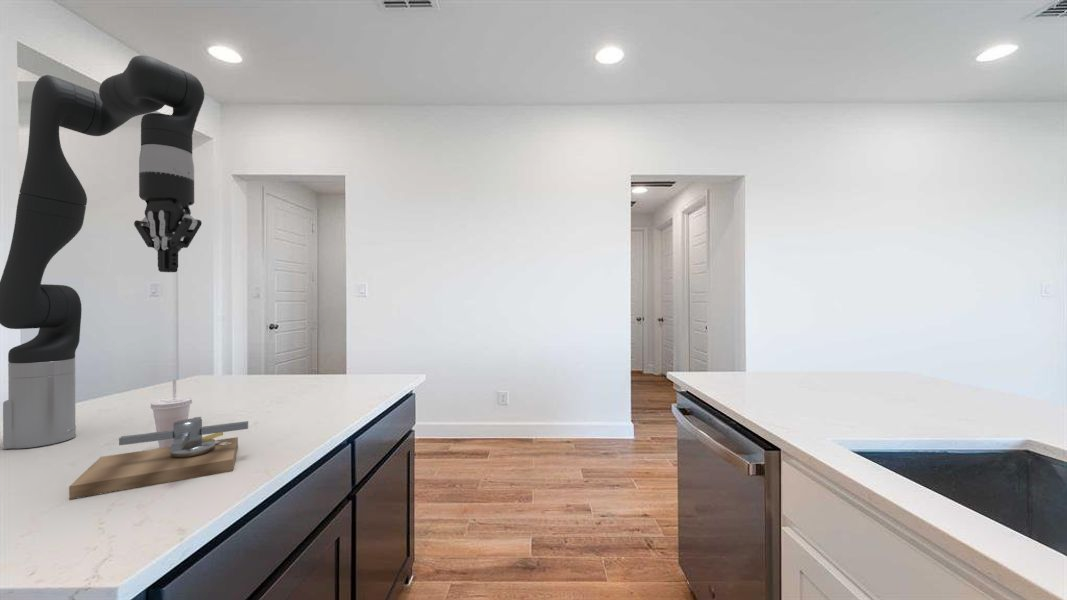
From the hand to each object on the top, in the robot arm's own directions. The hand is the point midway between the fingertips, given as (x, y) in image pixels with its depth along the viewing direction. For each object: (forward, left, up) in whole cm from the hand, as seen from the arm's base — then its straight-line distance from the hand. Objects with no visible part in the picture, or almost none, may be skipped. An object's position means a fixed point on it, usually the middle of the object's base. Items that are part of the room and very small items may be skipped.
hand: (167, 271), depth 76 cm
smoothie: (-1, +11, -35) cm, 37 cm away
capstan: (+3, -2, -33) cm, 33 cm away
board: (0, -2, -35) cm, 35 cm away
